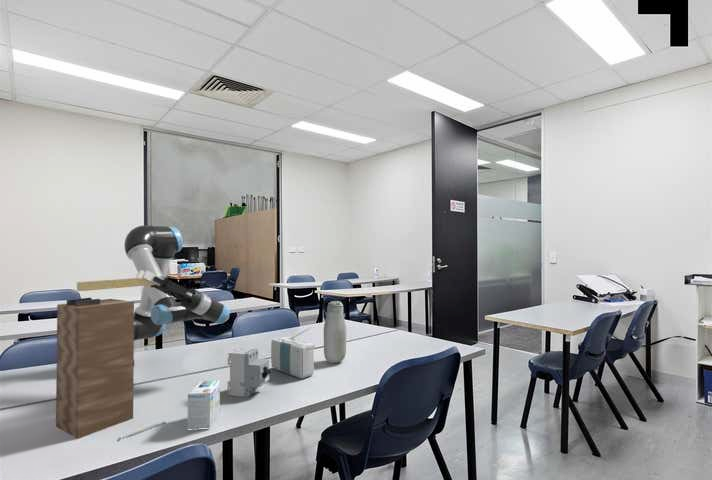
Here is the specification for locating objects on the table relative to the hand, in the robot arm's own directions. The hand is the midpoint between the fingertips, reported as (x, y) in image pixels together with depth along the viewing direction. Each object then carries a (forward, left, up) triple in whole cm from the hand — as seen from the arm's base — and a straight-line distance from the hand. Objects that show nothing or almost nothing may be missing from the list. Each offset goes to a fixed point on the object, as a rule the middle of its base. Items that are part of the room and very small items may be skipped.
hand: (141, 273), depth 129 cm
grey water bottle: (+27, +74, -44) cm, 90 cm away
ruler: (+18, -9, -45) cm, 49 cm away
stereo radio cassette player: (+20, +53, -44) cm, 72 cm away
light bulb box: (+28, +4, -44) cm, 53 cm away
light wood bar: (0, -5, -4) cm, 7 cm away
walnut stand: (0, -14, -44) cm, 46 cm away
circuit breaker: (+22, +28, -44) cm, 57 cm away
